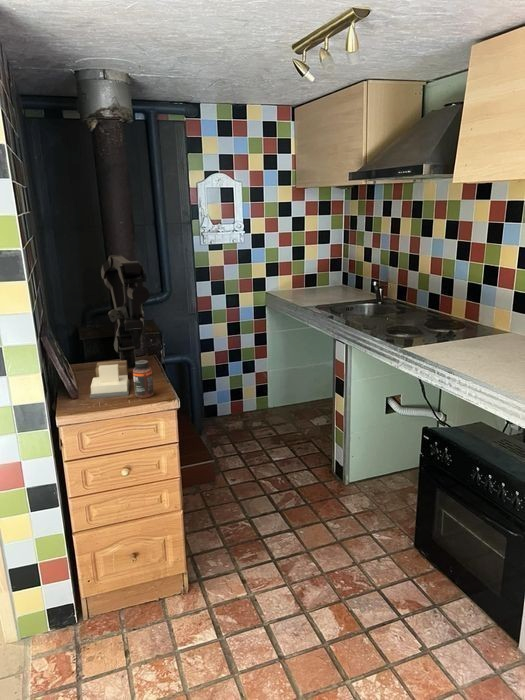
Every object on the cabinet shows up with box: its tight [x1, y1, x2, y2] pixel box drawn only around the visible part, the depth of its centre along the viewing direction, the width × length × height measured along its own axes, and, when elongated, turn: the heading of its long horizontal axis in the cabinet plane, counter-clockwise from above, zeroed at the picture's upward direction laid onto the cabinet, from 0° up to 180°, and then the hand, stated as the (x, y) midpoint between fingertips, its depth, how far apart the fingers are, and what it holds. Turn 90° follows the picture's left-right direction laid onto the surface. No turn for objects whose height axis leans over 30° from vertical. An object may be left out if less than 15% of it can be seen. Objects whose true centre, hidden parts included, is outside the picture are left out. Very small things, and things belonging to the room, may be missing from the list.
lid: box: [90, 364, 129, 394], centre depth 177 cm, size 9×11×8 cm
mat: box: [89, 379, 131, 400], centre depth 179 cm, size 14×12×1 cm
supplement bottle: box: [132, 359, 155, 399], centre depth 172 cm, size 6×6×11 cm
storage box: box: [95, 360, 129, 377], centre depth 189 cm, size 8×10×5 cm
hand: (136, 342), depth 189 cm, fingers open, 9 cm apart
